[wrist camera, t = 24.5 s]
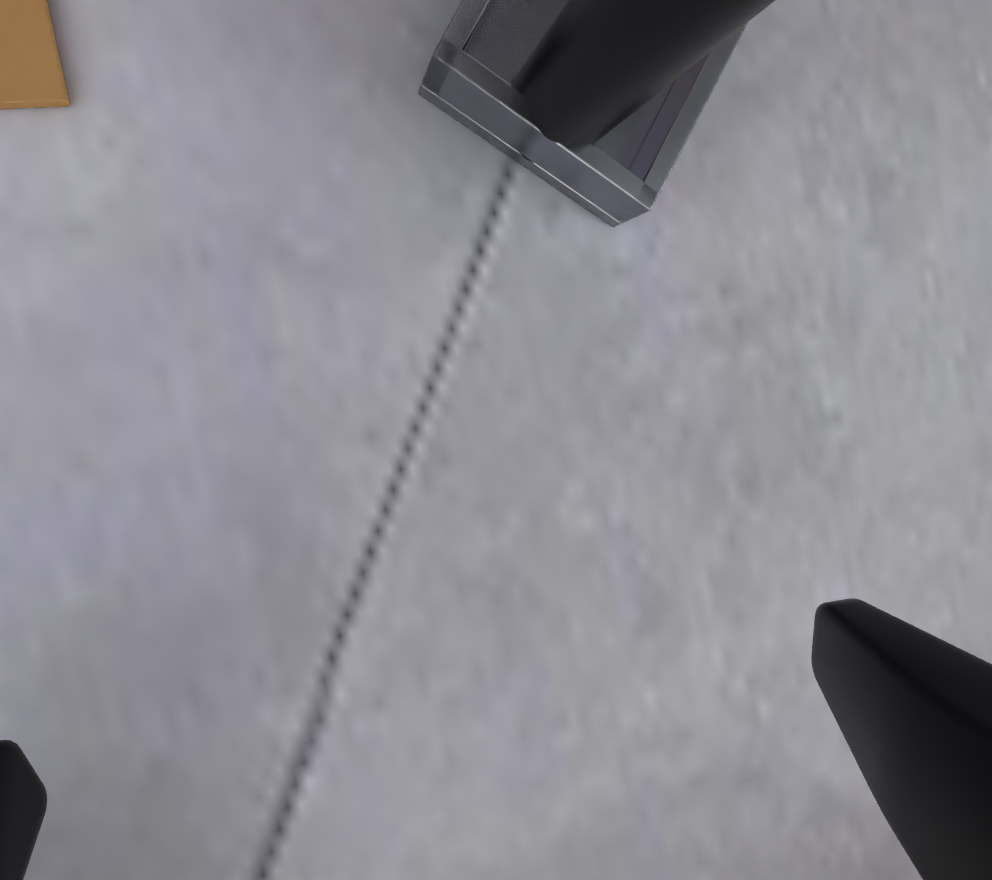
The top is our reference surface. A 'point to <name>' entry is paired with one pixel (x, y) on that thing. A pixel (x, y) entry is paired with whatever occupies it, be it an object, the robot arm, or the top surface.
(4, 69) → the mat
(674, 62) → the black cylinder on tray
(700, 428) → the top surface
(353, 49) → the top surface
